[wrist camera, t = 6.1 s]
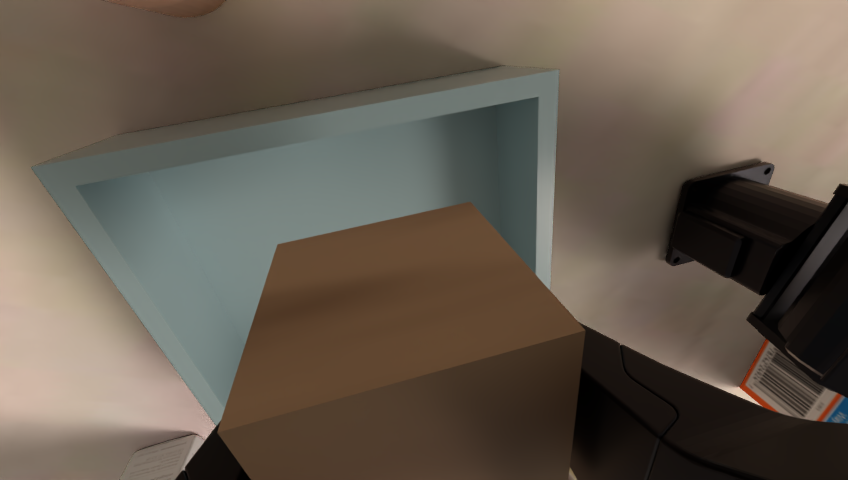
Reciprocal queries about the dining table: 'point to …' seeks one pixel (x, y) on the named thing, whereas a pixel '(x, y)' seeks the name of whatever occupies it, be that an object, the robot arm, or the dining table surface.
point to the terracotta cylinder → (174, 6)
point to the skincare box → (162, 459)
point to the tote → (300, 196)
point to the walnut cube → (406, 359)
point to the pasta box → (791, 389)
